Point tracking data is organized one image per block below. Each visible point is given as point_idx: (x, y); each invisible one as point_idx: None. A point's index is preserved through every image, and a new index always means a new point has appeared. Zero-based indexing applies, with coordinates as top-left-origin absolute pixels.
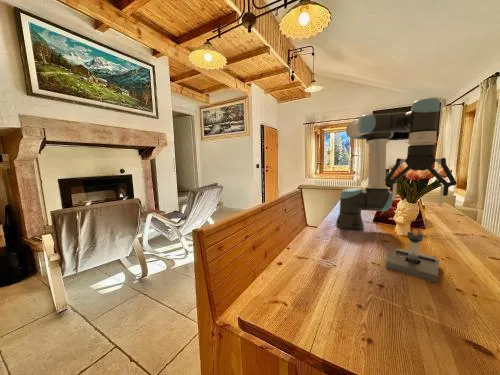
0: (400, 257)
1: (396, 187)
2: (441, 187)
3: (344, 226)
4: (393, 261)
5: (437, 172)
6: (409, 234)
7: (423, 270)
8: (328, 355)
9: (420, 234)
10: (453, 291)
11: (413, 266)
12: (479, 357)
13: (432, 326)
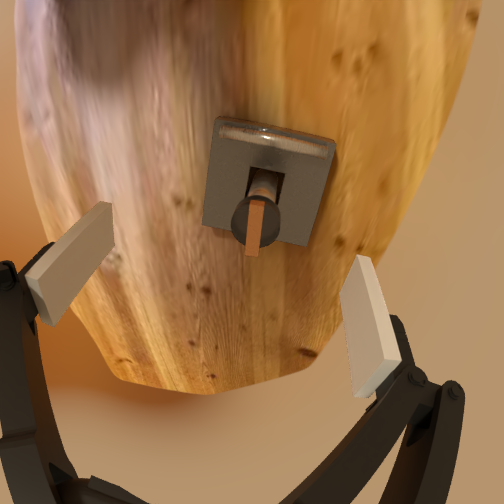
0: (233, 178)
1: (60, 260)
2: (356, 393)
3: None
4: (217, 216)
5: (355, 494)
6: (236, 237)
7: (282, 233)
8: (190, 391)
9: (271, 227)
10: (327, 252)
11: None
12: (302, 362)
13: (270, 344)
